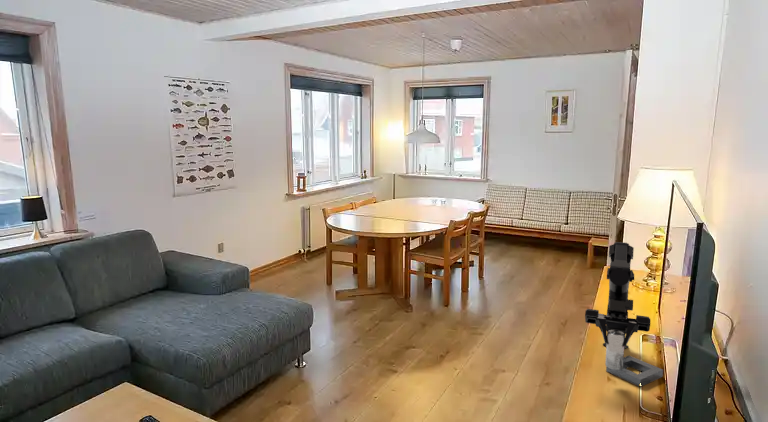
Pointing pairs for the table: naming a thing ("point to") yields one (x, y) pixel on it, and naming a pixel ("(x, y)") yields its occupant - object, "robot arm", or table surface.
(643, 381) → the jig
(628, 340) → the robot arm
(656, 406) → the table surface
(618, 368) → the ring
